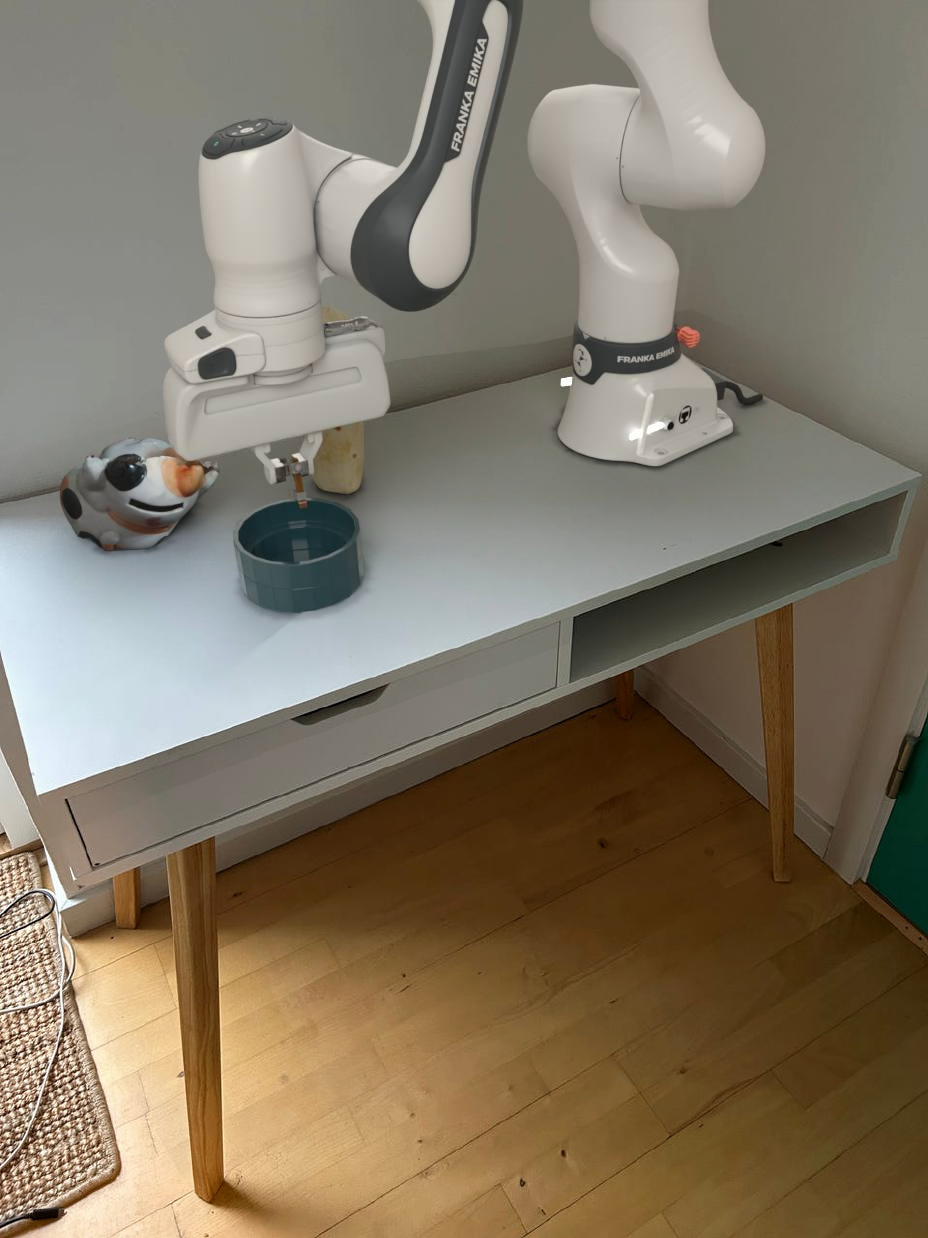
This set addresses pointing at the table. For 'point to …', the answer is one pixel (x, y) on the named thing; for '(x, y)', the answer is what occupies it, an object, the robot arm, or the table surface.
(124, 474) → the lucky cat figurine
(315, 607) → the teal round bowl
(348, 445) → the food model
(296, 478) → the wooden post with brackets
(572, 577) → the table surface
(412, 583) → the table surface
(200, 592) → the table surface
